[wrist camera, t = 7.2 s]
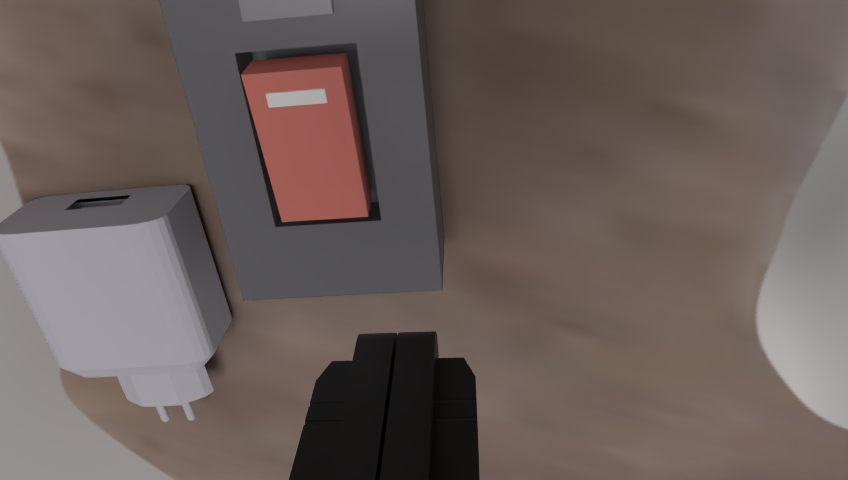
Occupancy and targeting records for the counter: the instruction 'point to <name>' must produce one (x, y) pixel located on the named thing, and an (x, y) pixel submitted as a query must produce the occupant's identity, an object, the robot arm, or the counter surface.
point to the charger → (123, 289)
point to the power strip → (380, 130)
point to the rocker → (310, 136)
